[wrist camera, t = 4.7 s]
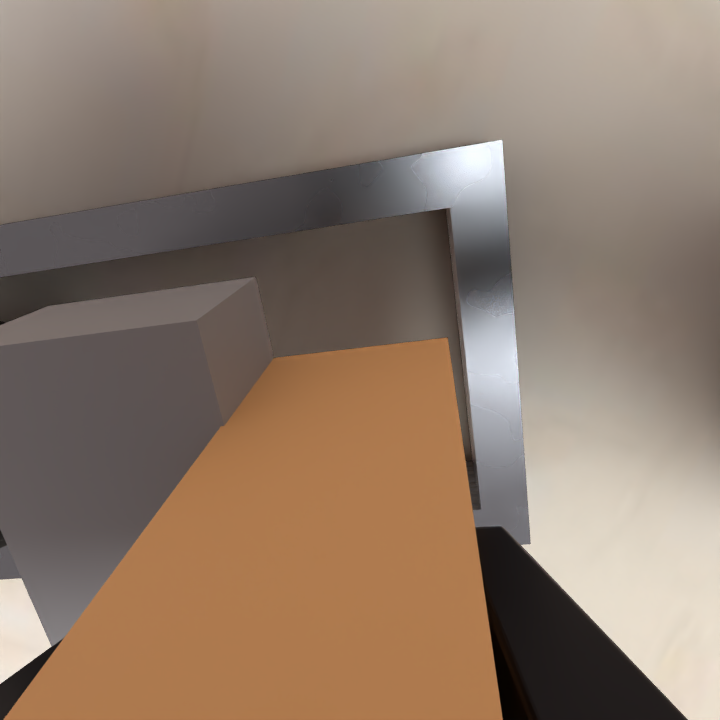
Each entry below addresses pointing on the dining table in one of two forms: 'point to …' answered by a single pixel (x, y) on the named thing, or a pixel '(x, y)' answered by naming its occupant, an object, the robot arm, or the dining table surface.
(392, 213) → the grey rectangular frame
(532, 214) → the dining table surface
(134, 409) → the two-tone block
